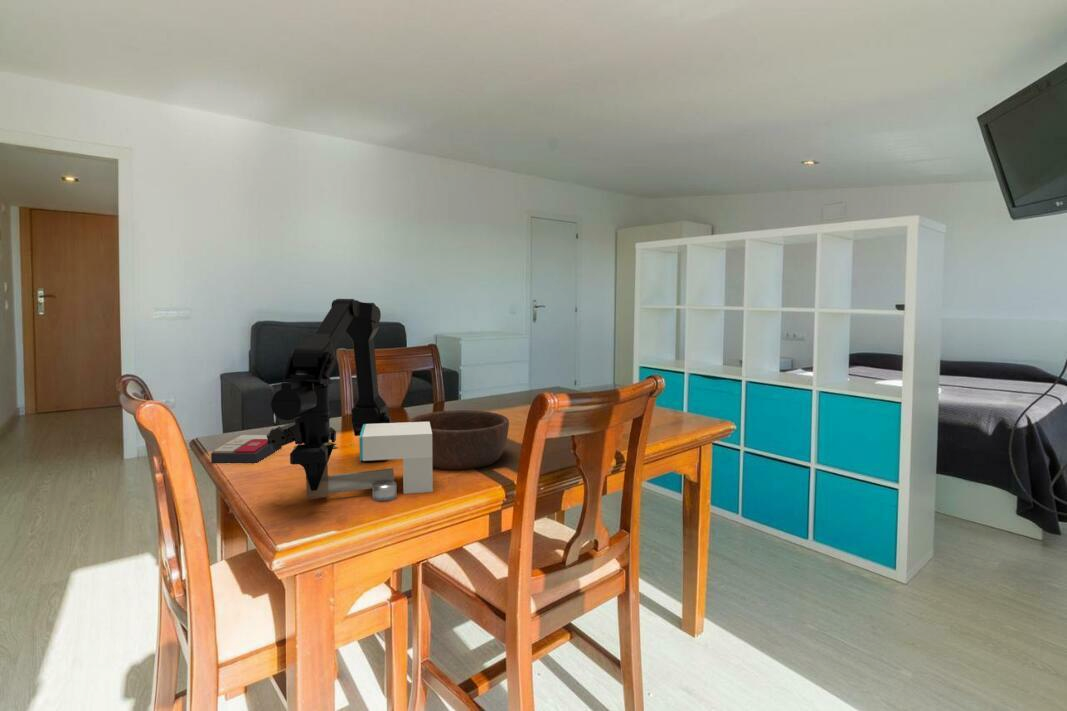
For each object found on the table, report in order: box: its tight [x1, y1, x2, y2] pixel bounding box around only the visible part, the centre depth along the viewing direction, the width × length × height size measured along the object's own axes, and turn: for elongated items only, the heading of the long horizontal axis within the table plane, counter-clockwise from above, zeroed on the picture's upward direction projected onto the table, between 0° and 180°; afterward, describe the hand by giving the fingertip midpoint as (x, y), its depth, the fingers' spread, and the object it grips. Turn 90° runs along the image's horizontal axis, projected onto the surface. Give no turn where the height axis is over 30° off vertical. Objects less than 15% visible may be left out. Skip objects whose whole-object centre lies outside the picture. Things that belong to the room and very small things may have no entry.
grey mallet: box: [305, 463, 395, 500], centre depth 119 cm, size 4×17×7 cm, turn 112°
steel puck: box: [371, 480, 398, 502], centre depth 119 cm, size 5×5×3 cm
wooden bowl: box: [409, 409, 510, 471], centre depth 147 cm, size 25×25×10 cm
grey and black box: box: [210, 434, 283, 464], centre depth 149 cm, size 11×4×15 cm
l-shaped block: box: [358, 421, 434, 495], centre depth 126 cm, size 12×15×12 cm
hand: (315, 486), depth 116 cm, fingers closed on grey mallet, 4 cm apart
